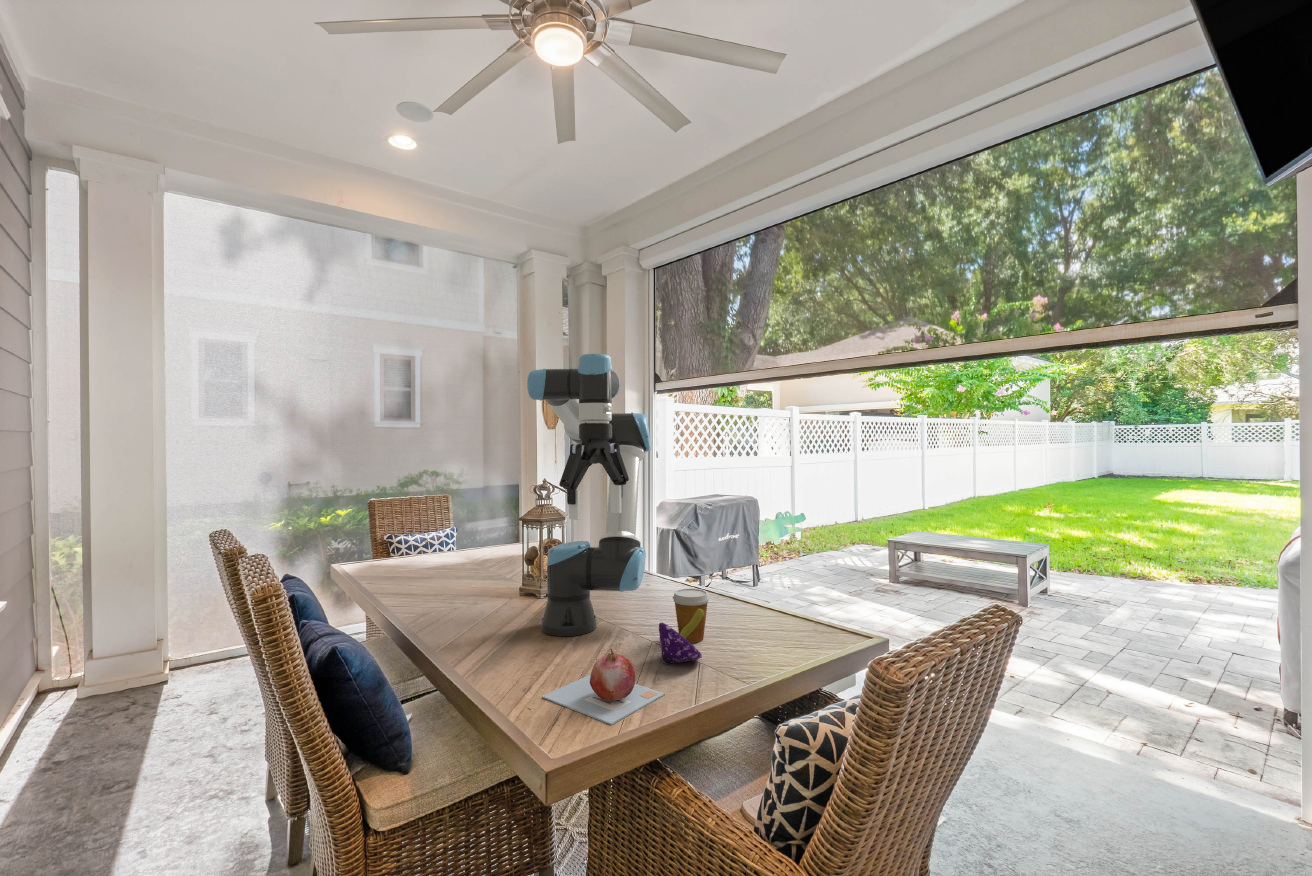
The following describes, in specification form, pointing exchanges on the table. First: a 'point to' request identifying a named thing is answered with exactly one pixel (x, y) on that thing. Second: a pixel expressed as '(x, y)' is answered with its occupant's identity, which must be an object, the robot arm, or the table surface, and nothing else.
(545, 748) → the table surface
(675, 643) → the decorative mushroom
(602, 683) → the fruit
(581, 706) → the letter
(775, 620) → the table surface
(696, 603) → the disposable coffee cup
